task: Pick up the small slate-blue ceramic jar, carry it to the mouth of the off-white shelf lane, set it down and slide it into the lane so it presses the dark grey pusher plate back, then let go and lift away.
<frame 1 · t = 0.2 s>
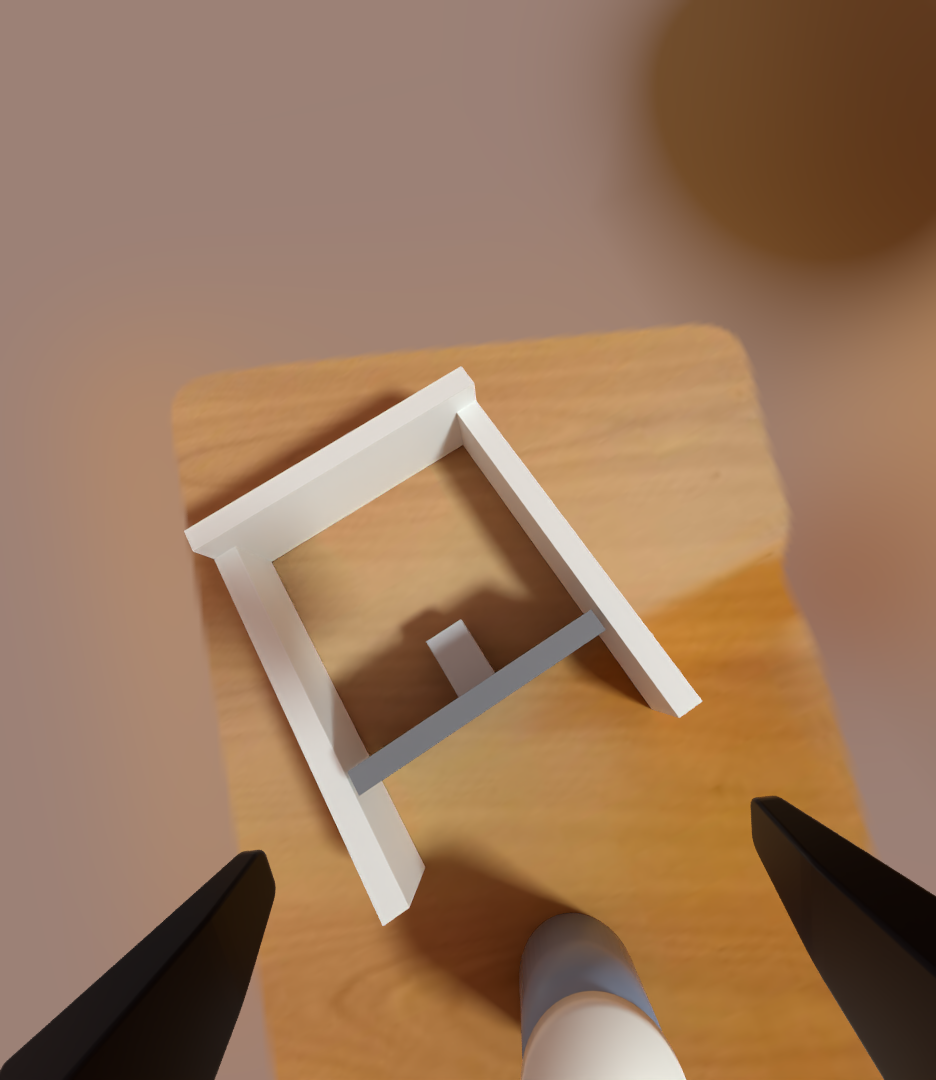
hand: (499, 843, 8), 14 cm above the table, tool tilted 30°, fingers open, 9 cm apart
jar: (577, 982, 19), on the table
lane: (443, 624, 23), on the table
pusher: (464, 666, 20), point 2 cm above the table, slide at 0.0 cm
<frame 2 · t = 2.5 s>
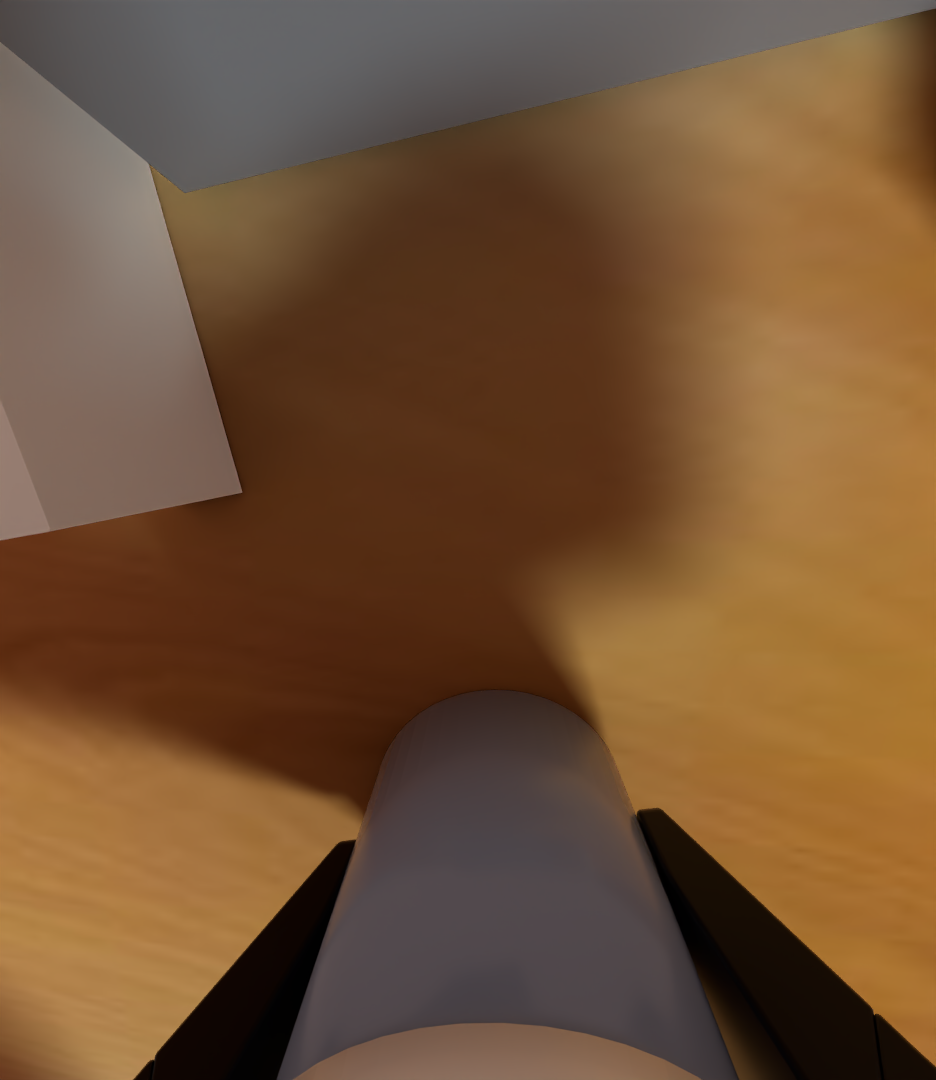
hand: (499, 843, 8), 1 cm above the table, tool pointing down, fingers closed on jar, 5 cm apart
jar: (497, 799, 9), on the table, touching gripper
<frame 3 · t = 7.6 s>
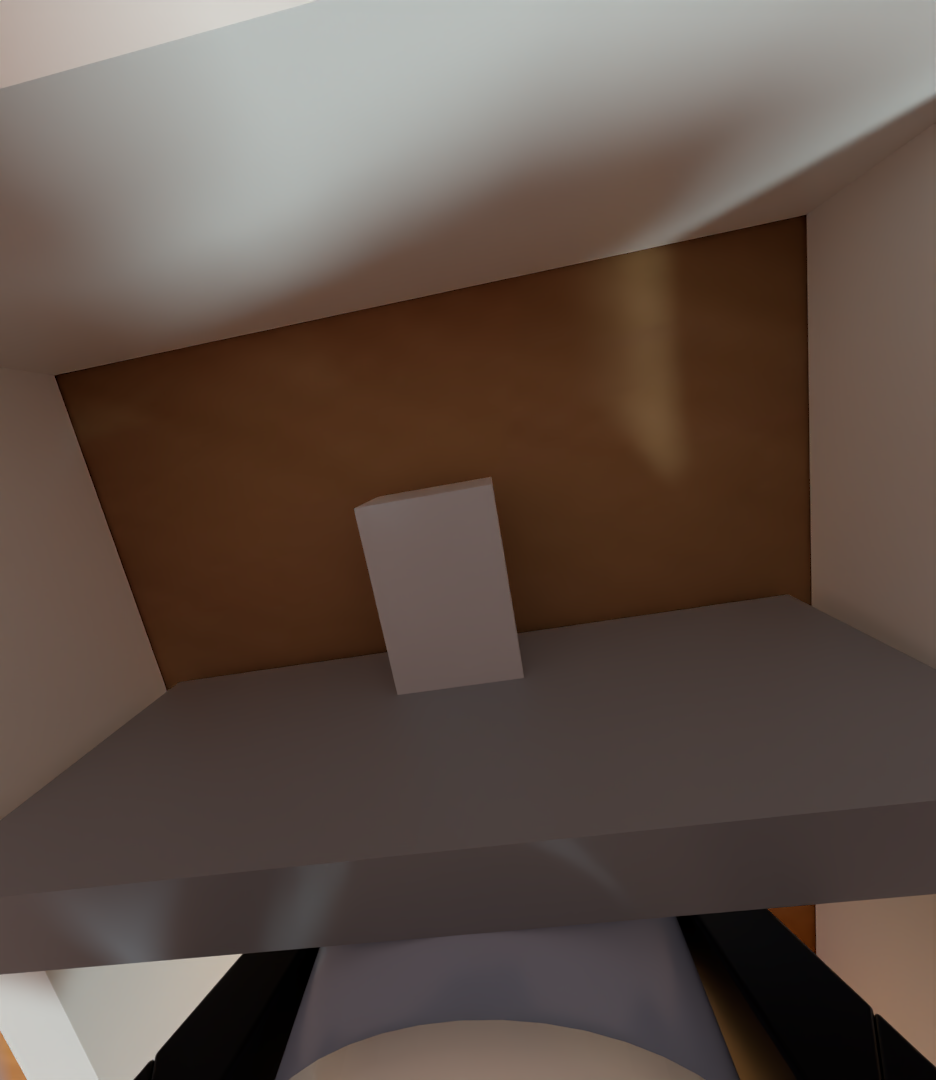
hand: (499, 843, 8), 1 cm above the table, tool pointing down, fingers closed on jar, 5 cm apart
jar: (498, 798, 9), on the table, touching gripper, pusher
lane: (485, 734, 9), on the table
pusher: (444, 645, 6), point 3 cm above the table, slide at 5.8 cm, touching jar
when the fingers open (1 cm above the table, at t = 8.1 s): jar stays where it is, on the table.
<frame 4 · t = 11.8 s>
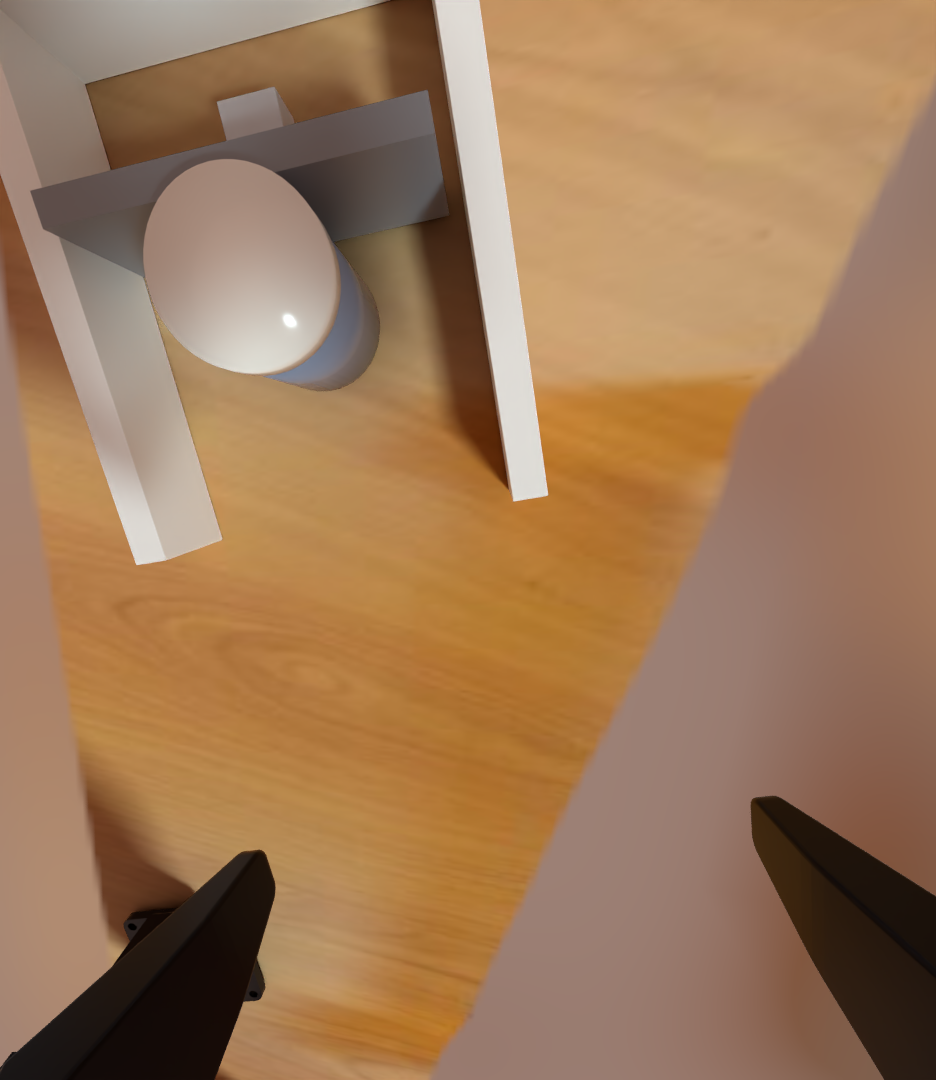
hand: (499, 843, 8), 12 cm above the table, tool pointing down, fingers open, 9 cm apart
jar: (318, 325, 18), on the table
lane: (310, 293, 17), on the table
pusher: (252, 152, 14), point 2 cm above the table, slide at 6.0 cm
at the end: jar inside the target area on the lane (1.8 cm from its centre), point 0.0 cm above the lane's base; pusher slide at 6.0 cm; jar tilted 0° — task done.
